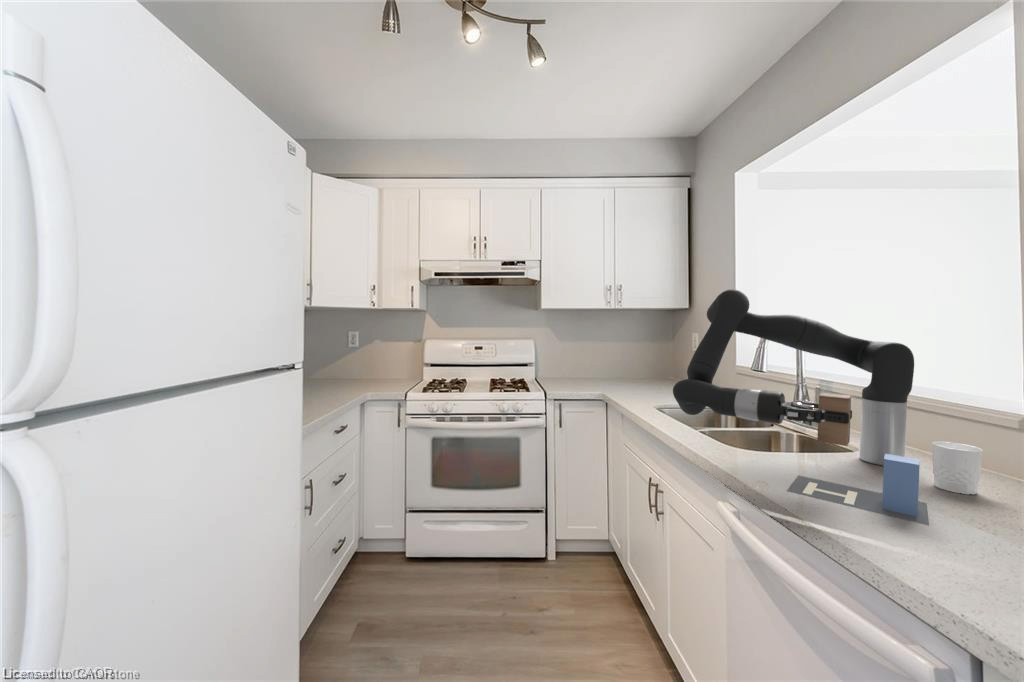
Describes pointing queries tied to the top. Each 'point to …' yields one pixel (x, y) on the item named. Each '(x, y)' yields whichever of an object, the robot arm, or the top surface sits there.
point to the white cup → (956, 467)
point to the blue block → (900, 484)
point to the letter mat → (852, 498)
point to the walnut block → (834, 430)
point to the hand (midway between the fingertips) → (850, 416)
